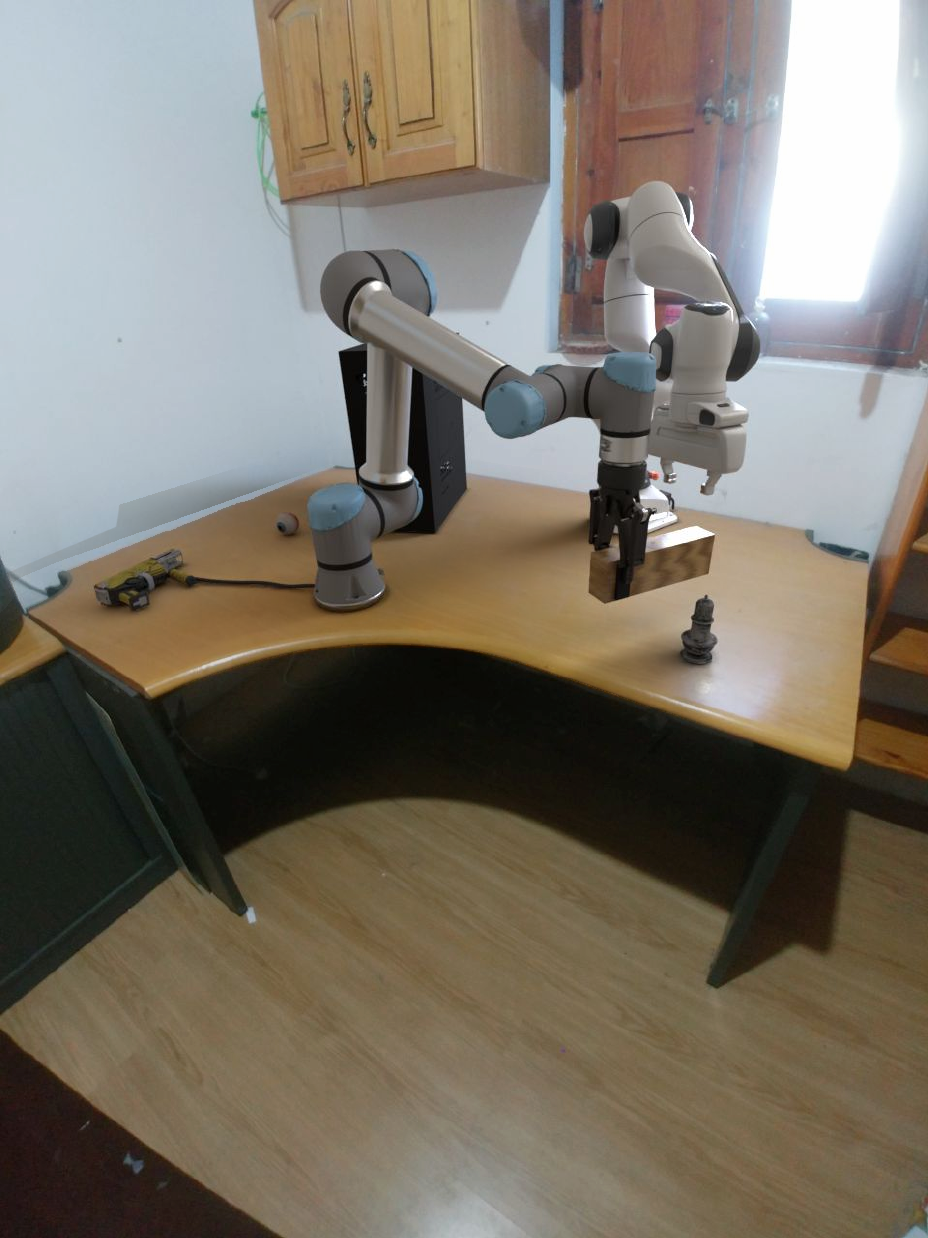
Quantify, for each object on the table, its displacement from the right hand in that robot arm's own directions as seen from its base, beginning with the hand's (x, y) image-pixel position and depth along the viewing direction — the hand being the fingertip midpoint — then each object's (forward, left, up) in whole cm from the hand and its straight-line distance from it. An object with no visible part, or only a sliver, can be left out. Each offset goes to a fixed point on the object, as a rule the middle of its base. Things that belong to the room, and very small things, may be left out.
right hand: (687, 488), depth 109 cm
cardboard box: (+23, -81, -24) cm, 88 cm away
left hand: (+19, +5, -14) cm, 24 cm away
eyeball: (+61, -81, -24) cm, 105 cm away
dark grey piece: (+9, +17, -24) cm, 31 cm away
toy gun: (+94, -63, -24) cm, 116 cm away
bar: (+10, +5, -15) cm, 19 cm away
